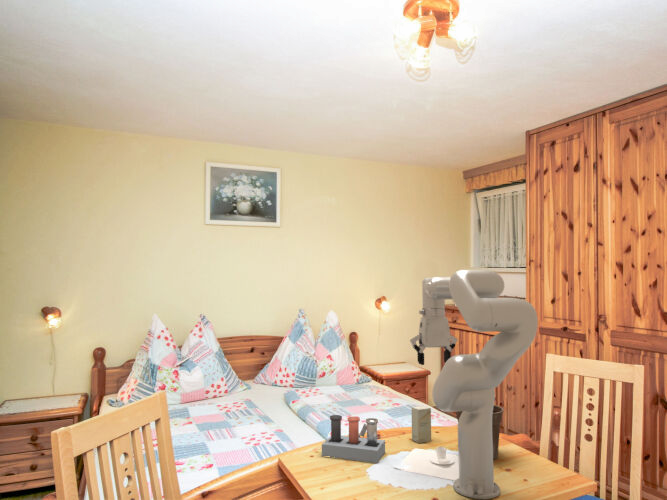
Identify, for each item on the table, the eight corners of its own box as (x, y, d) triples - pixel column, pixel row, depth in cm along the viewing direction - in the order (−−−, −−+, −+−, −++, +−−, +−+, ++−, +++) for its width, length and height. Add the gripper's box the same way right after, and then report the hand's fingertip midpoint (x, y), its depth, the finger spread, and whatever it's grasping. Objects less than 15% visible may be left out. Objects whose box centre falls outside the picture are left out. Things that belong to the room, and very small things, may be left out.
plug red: (357, 444, 156) (357, 420, 157) (346, 443, 158) (346, 419, 159) (361, 440, 160) (361, 417, 161) (349, 439, 162) (349, 416, 162)
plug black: (339, 442, 159) (339, 418, 159) (328, 441, 160) (328, 417, 161) (343, 438, 163) (343, 415, 163) (332, 437, 164) (332, 414, 165)
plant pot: (497, 447, 165) (496, 401, 166) (511, 464, 149) (509, 413, 150) (451, 446, 166) (450, 400, 168) (460, 463, 150) (458, 412, 152)
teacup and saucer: (450, 468, 145) (449, 455, 145) (425, 464, 149) (425, 451, 149) (457, 459, 153) (456, 446, 153) (433, 455, 157) (433, 442, 157)
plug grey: (376, 446, 154) (376, 422, 155) (364, 445, 156) (364, 420, 156) (379, 442, 158) (379, 418, 159) (367, 441, 160) (367, 417, 160)
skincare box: (418, 443, 169) (418, 409, 171) (411, 440, 173) (410, 407, 174) (432, 440, 173) (431, 407, 174) (424, 437, 176) (423, 405, 177)
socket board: (377, 463, 150) (377, 450, 151) (321, 456, 157) (321, 444, 157) (385, 452, 161) (385, 440, 161) (332, 446, 167) (332, 434, 168)
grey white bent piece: (348, 447, 165) (348, 425, 166) (348, 446, 167) (348, 423, 168) (368, 447, 166) (368, 424, 166) (367, 445, 167) (367, 423, 168)
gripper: (415, 314, 153) (415, 366, 152) (461, 313, 157) (462, 364, 156) (406, 313, 160) (406, 362, 159) (450, 312, 165) (451, 360, 163)
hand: (434, 363), depth 158 cm, fingers open, 9 cm apart
